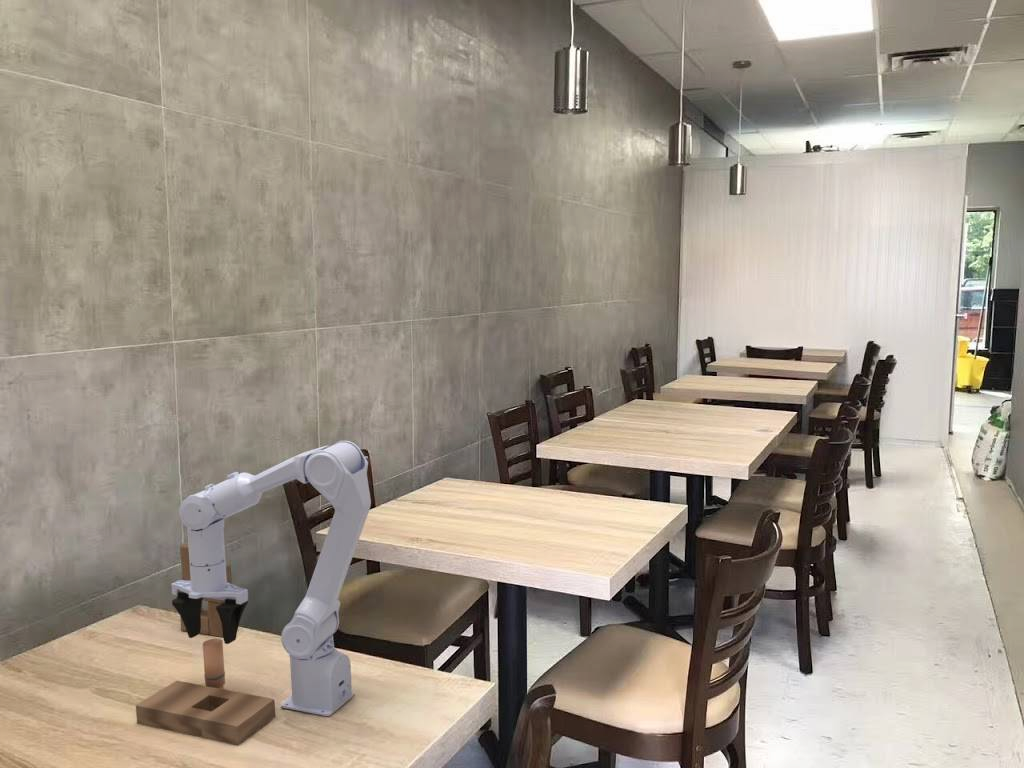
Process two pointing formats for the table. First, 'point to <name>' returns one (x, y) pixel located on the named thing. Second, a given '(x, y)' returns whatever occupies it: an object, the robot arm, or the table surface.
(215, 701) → the board
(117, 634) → the table surface
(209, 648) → the peg
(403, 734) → the table surface
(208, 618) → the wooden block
